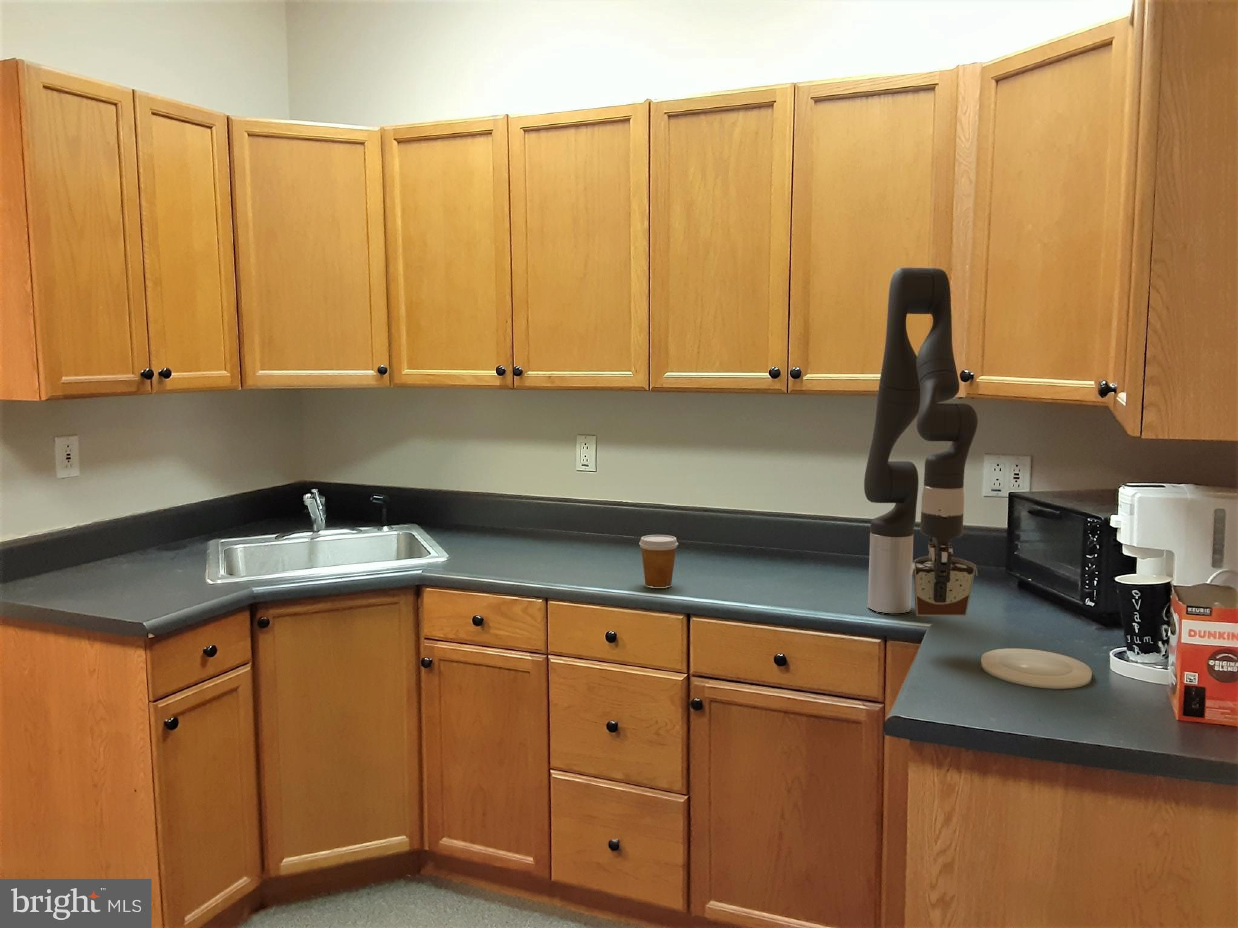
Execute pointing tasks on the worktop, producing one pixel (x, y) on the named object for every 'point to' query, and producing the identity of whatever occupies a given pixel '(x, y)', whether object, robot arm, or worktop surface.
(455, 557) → the worktop surface
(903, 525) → the robot arm
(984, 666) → the plate
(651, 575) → the disposable coffee cup
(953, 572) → the food container
